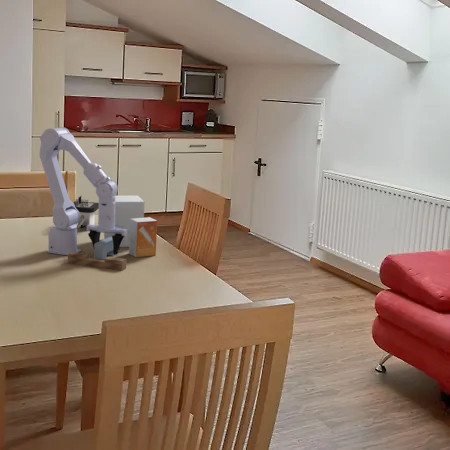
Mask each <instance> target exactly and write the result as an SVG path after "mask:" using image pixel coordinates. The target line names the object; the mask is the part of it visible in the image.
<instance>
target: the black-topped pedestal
mask: <svg viewBox="0 0 450 450" xmlns="http://www.w3.org/2000/svg"><path fill="white" fill-rule="evenodd" d="M82 198H83V196H82V194H81V195H80V196H78V197H77V198H75V201H72V202H73V203H74V205H75V208H76V209H77V210H78V211H79V213H80V220H79V222H78V223H77V228H81V227H82V226H81V225H95V215H96V214H95V212H96V211H98V210H99V202H90V199H87V200H83V199H82Z"/></svg>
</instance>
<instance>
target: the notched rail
mask: <svg viewBox="0 0 450 450" xmlns="http://www.w3.org/2000/svg"><path fill="white" fill-rule="evenodd" d="M67 263H68V264H73V265H74V264H75V265H80V266H81V265H82V266H88V267H95V268H103V269H108V270H115V271H117V270H118V271H124V270H126V269H127V258H121V257H114V256H107V258H105V259H98V258H94V257H90V253H86V252H70V253H68V255H67Z"/></svg>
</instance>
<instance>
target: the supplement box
mask: <svg viewBox="0 0 450 450" xmlns="http://www.w3.org/2000/svg"><path fill="white" fill-rule="evenodd" d="M114 196H115V227H117V228H122V229H127V235H125V236H124V238H123V240H122V242H121V244H120V246H119V248H129V232H130V219H134V218H145V201H144V199H143V198H141V197H140V196H139V195H114ZM114 235H115V234H110V233H104V234H103V236H104V237H103V239H105V238H108V237H110V236H111V237H112V236H114Z"/></svg>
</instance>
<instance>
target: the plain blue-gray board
mask: <svg viewBox="0 0 450 450" xmlns="http://www.w3.org/2000/svg"><path fill="white" fill-rule="evenodd" d="M93 252H94V253H93V254H94V256H93V258H98V259H105V258H107V257H108V256H110V257H114V256H115V255H113V239H112V237H111V236H110V237H108V238H105V239H104V238H103V239H101V240H99V242H97V243H95V245H94V247H93Z"/></svg>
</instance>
